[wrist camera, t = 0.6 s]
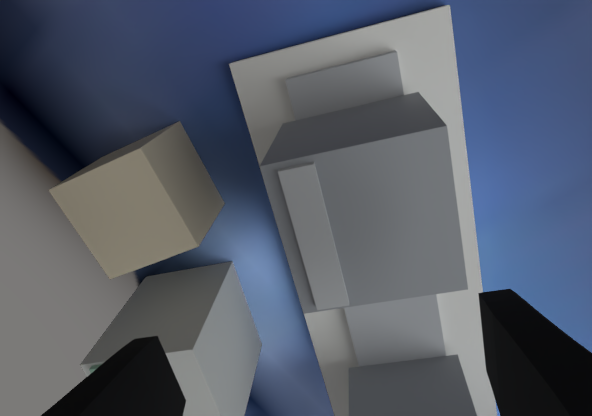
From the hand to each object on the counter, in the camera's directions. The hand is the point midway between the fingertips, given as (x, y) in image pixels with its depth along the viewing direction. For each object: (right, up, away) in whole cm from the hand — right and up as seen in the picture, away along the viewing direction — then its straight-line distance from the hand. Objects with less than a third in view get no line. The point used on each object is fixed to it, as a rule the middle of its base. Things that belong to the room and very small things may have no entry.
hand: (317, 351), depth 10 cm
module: (-5, -2, +12) cm, 14 cm away
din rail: (+4, 0, +11) cm, 11 cm away
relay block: (-6, +4, +10) cm, 12 cm away
